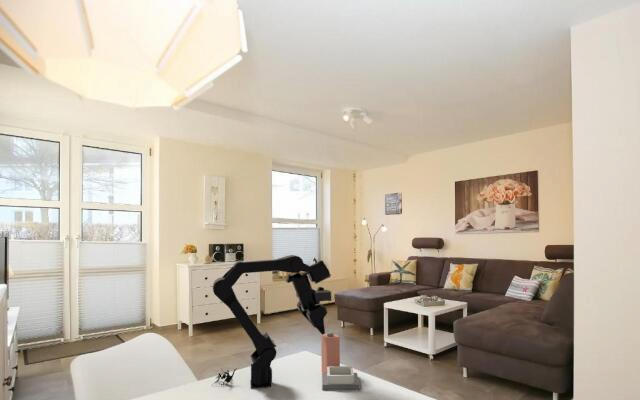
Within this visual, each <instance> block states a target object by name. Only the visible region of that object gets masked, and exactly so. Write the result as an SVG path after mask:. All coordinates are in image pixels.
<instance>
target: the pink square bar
mask: <svg viewBox="0 0 640 400" xmlns="http://www.w3.org/2000/svg"><path fill="white" fill-rule="evenodd" d="M320 338H321V339H320V340H321V341H320V342H321V350H320V351H321V373H327V367H329V366H341V358H340V357H341V354H340V352H341V351H340V350H341V348H340V345H341V344H340V342H341V341H340V336H339V335H338V334H337V333H335V332H333V331H328V332H326V333H325V334H323V335H322V334H321V336H320Z"/></svg>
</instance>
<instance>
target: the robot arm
mask: <svg viewBox="0 0 640 400" xmlns="http://www.w3.org/2000/svg"><path fill="white" fill-rule="evenodd" d="M276 271H277V272H283V273H291V274H292V275H291V274H287V276H286V279H285V282H286V283H288V284H289V283H292V285H293V288H294V290H295V293H296V294H295V296H296V298H298V301H297V304H296V306H297V307H296V308H297V309H298V311H299V312H300V313H301V315H303V317H304V318H305V319H306V320H307V321H308V322H309V324H311V326H313V327H314V329H316V330H317V331H318V332H319V333H320V334H321V335H323V334H326V331H325V322H324V321H325V317H326V316H327V314H328V310H327V307H326V306H324V305H323V304H321V302H327V301H328V302H331V301H332V291H331V290H328V289H325V288H324V287H323V286H318V287H317V289H316V290H315V289H313V287H312V284H311V283H314V284H319V283H322V282H323V281H326V280H328V279H329V278H331V273H330V270H329V268H328V267H327V265H326V264H325V262H324V260H321V259H320V260H318V261H317V262H315V263H313V264H311V265H309V264H306V263H304V260H303V259H302V258H301V257H300V256H297V255H295V254H290V255H285V256H283V257H278V258H274V259H265V260H261V259H260V260H250V261H249V260H248V261H247V260H246V261H242V260H239V261H236V262H234V264H233V265H232V267H230V268H229V270H228V271H226V272H225V274H224V275H223V276H222V277H217V278H216V279H215V280H214V281H213V283H212V291H213V295H215V296H216V297H217V298H218V299H219V300H220V301H221V302H222V304H224V305H226V306H227V307H228V308H229V310H230V311H231V313H232V314H233V315H234V317H235V318H236V320H237V321H238V323H239V324H240V325H241V327H242V328H243V330H244V331H245V333H246V334H247V336H248V337H249V339H250V340H251V343H252V344H253V345H254V349H255V350H254V351H253V352H252V353H251V354H250V356H249V357H250V360H251V362H252V363H251V364H250V380H249V382H250V388H251V389H258V388H267V387H270V388H271V387H272V383H273V369H272V367H271V364H272V362H273V361H274V360H275V359H276V357H277V349H276V347H277V345H276V344H275V342H274V340H273V339H271V337H270V335H269V334H268V331H266V332H265V333H262V332H261V331H260V329H259V328H258V327H257V325H256V324H255V322H254V321H253V320H252V318H251V316H250V315H249V314H248V312H247V311H246V310H245V308H244V307H243V306H242V304H241V303H240V301H239V299H238V298H237V296H236V293H235V291H234V289H233V286H234V285H235V284H236V283H237V281H238V280H239V279H240V278H241V276H242V275H243V274H247V273H248V274H249V273H263V272H264V273H265V272H276ZM301 272H302V273H301Z"/></svg>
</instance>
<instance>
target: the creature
mask: <svg viewBox="0 0 640 400" xmlns="http://www.w3.org/2000/svg"><path fill="white" fill-rule="evenodd" d="M220 369H221V370H223V368H222V367H221V368H220ZM237 369H238V368H237V367H236V368H234V370H233V372H232V374H231V375H230V373H229V372H230V371H229V369H226V371H225V372H224V371H222V373H220V372H219V373H217V376H216V377H215V379H216V381H215V382H213V383H212V385H215V384H218V385H221V386H223V385H224V383H225V382H226V383H227V384H229V383H231V381H232V379H233V377H234V375H235V371H236V370H237ZM220 379H221V380H224V381H223V382H222V384H221V383H220V382H219V381H220ZM218 382H219V383H218Z"/></svg>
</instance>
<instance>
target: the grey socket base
mask: <svg viewBox="0 0 640 400" xmlns="http://www.w3.org/2000/svg"><path fill="white" fill-rule="evenodd" d="M321 375H322V376H321V377H322V378H321V379H322V380H321V382H322V383H321V385H322V386H321V387H322V388H321V389H322V391H327V390H328V391H329V390H330V391H332V390H333V391H334V390H335V391H337V390H339V391H340V390H341V391H343V390H345V391H346V390H347V391H348V390H349V391H350V390H360V389H361V384H360V380H359V376H358V373H357V372H354V369H353V366H350V365H340V366H329V367H327V373H323V372H321Z"/></svg>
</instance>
